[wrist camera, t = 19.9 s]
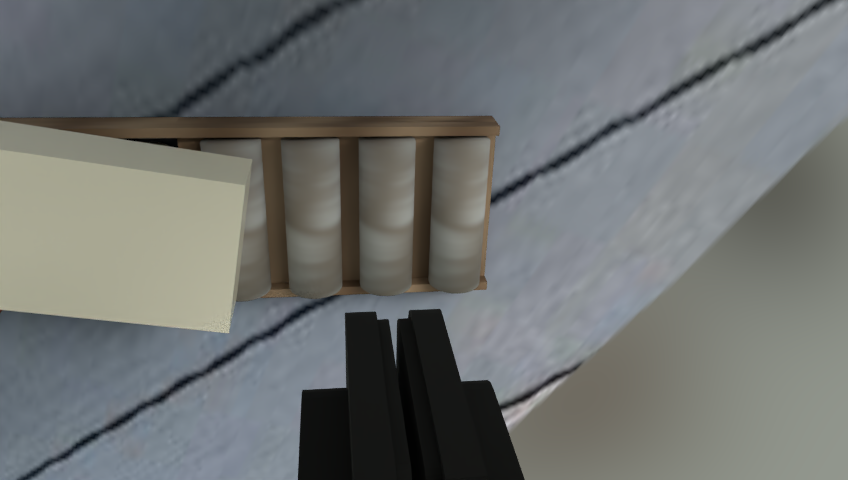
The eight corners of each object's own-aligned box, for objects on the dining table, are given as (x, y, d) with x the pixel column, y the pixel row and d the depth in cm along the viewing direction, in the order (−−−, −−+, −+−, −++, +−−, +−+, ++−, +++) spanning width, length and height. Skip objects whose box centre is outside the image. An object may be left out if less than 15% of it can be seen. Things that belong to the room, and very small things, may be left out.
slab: (252, 159, 34) (245, 185, 31) (236, 297, 38) (228, 333, 35) (-14, 118, 32) (-50, 142, 29) (-6, 269, 35) (-38, 305, 32)
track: (491, 116, 39) (521, 154, 33) (479, 273, 43) (503, 331, 37) (-51, 117, 35) (-125, 161, 29) (-4, 289, 39) (-60, 356, 34)
